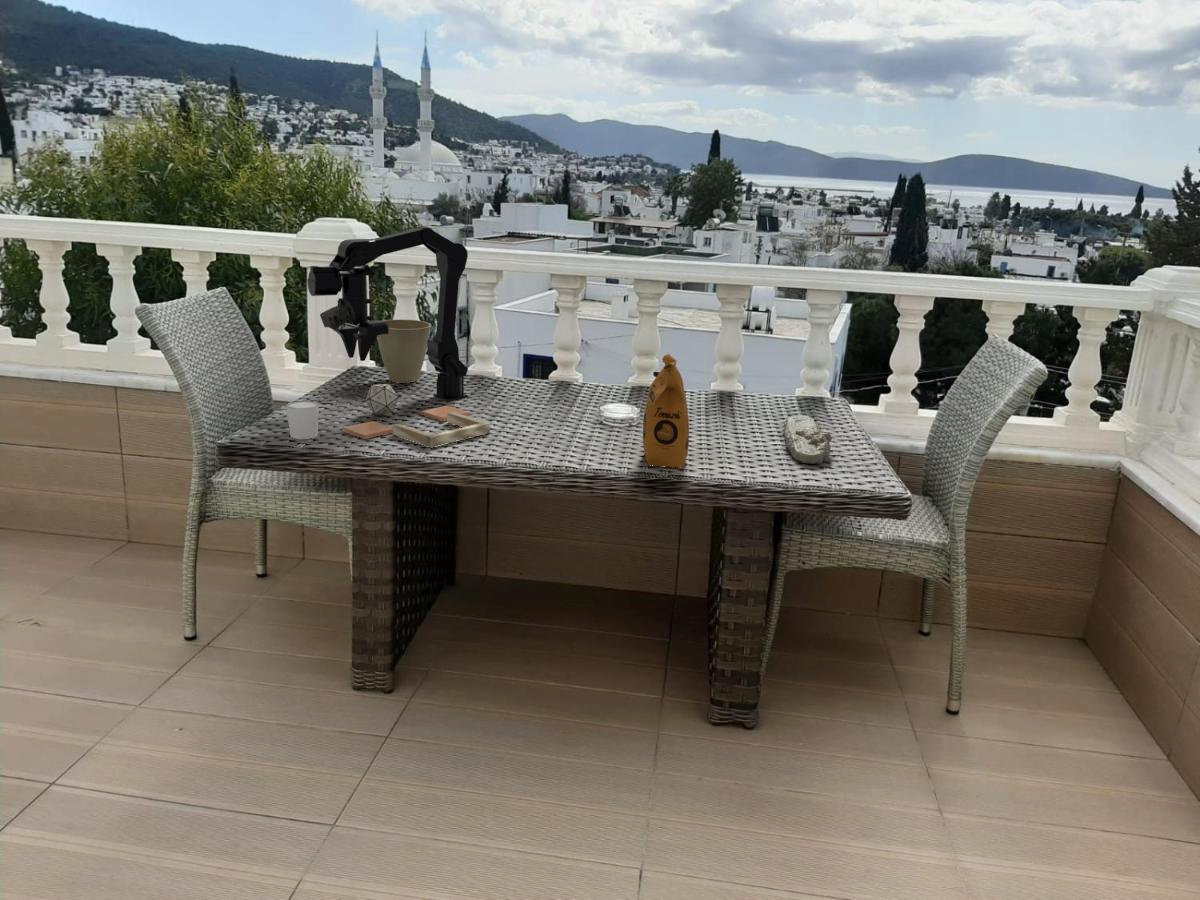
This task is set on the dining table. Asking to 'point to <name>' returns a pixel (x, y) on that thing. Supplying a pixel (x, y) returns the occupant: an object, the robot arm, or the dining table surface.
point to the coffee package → (666, 419)
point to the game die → (381, 398)
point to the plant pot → (404, 349)
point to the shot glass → (303, 419)
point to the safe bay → (468, 430)
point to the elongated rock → (806, 439)
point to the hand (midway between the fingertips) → (356, 359)
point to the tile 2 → (442, 412)
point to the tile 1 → (368, 430)
